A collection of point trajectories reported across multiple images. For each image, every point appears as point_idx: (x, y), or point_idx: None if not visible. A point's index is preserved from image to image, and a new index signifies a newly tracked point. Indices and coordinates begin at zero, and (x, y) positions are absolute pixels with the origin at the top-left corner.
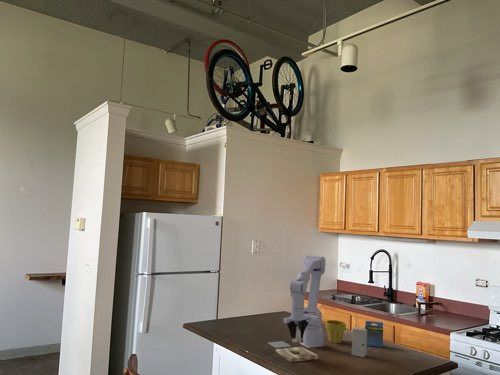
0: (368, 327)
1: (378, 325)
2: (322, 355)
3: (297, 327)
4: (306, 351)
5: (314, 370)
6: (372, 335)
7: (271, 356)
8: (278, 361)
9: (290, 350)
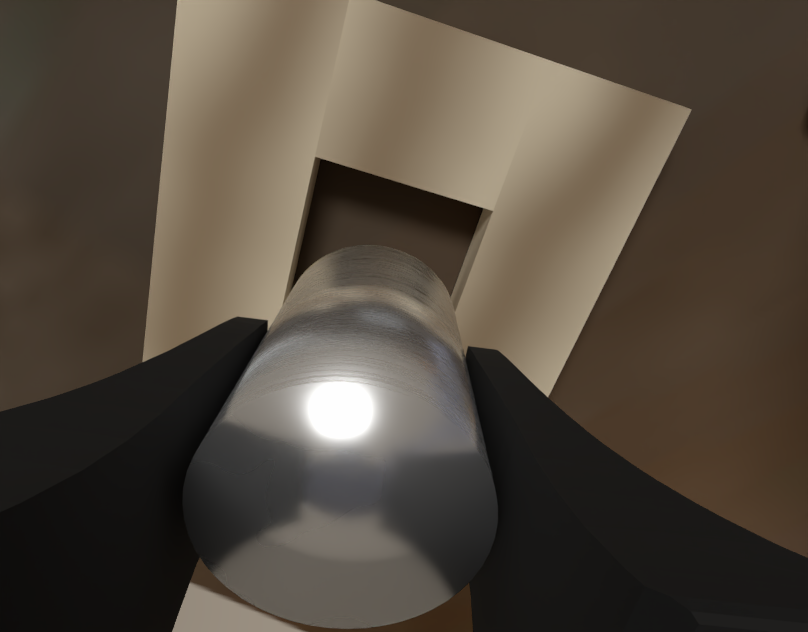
0: None
1: None
2: (652, 409)
3: (462, 465)
4: (527, 317)
5: (222, 596)
6: None
7: (36, 68)
8: (30, 279)
9: (368, 150)
